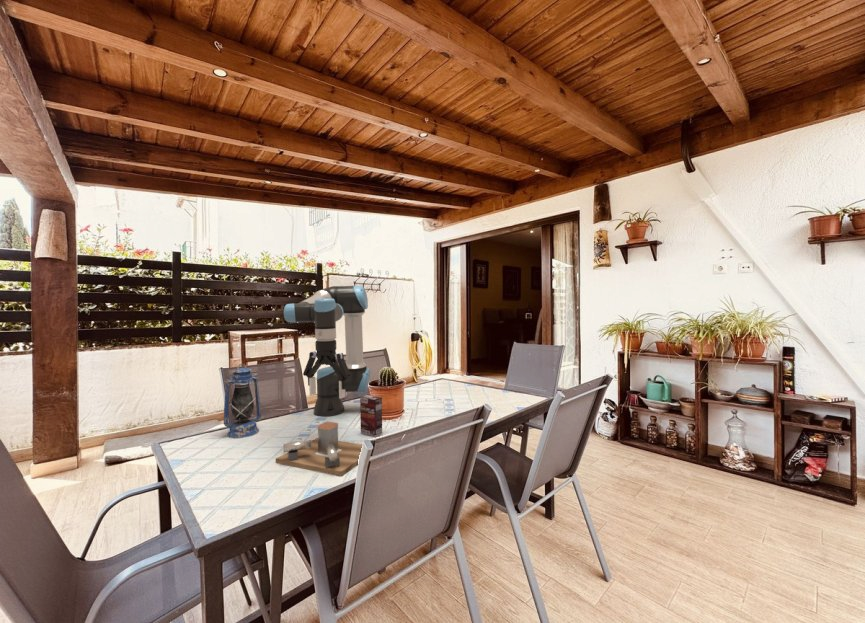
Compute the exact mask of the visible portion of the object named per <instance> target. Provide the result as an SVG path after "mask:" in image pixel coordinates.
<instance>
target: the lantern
mask: <svg viewBox="0 0 865 623" xmlns="http://www.w3.org/2000/svg"><path fill="white" fill-rule="evenodd" d="M241 366H244V368H240V367H241ZM251 371H252V368H248V367H247V366H246V364H244V363H241V364H238V365H237V368H235V369H233V370H231V373H232V375H231V378H230V379H229V378H226V379H225V380H224V383H225V389H224V390H225V391H224V406H223V407H224V408H223V425H224V426H225V427H226V428H229V430H228V432H227V437H228V438H229V439H230V438H231V439H243V438H249V437H253V436H254V435H257V434H258V433H259V432H260V429H259V428H258V425H257V421H258V420H259V419H261V416H262V410H261V400H260V389H259V381H258V378H259V375H258V374H256V373H255V374H254V375H252V373H251ZM250 384H254V392H255V394H254V395H255V397H253V394H252V390H251V387H250ZM230 386H234V389H233V393H232V397H231V399H230ZM254 401H255V404H254ZM229 405H230V406H231V414H232V416H234V419H233V420H235V422H231V423H230V422H229V408H230V407H229ZM255 405H256V416H255V417H253V418H252V414H253V412H254V409H255Z"/></svg>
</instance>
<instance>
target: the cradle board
mask: <svg viewBox="0 0 865 623" xmlns="http://www.w3.org/2000/svg"><path fill="white" fill-rule="evenodd" d="M362 445H363V444H359V443H354V442H349V441H341V440H338V450H337V451H336V453H337V455H338V456H339V458H340V466H339V467H333V468H327V469H326V467H325V457H328V455H326V454H320V453H318V437H316V438H314V439H312V440H311V448H310V449H303V450H298V460H293V461H289V459H288V452H285V453H283V454H281V455H280V456H278V457H276V458H275V463H276V464H280V465H285V466H290V467H295V468H300V469H304V470H309V471H314V472H319V473H324V474H330V475H335V476H339V477H343V476H344V475H345V474H347V473H348V472H350V471H351V470H353V469H354V468H355V467H357V466H359V464H358V459H359V455H360V452H361V448H362Z"/></svg>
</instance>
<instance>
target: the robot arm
mask: <svg viewBox="0 0 865 623" xmlns="http://www.w3.org/2000/svg"><path fill="white" fill-rule="evenodd" d="M368 303H369V300H368V294H367V292H366V289H365V287H364V286H361V285H339V286H338V285H333V286H328V287H326V288H322V289H319V290H318V291H317V290H316V292H315V293H313V294H312V296H310V297H308V298H305V299H303V300H302V301H300V302H299V303H286V304H285V305H284V308H283V318H284V320H285V321H286V322H287V323H294V324H296V323H314V334H315V335H314V337H315V340H316V341H315V343H314V346H315V351H310V352H309V354H308V355H309V356H308V360H307V363H306V366H305V367H304V370H303V374H302V375H303V376H304V377H306V378H307V386H308V387H309V388H308V389H309V396H314V395H315V394H316V399H315V400H316V401H315V404H314V408H313V415H314V416H317V417H331V416H337V415H340V414H342V413H344V412H345V405H344V402H343V400H342V399H344V398H346V392H348V393H349V392H351V393H352V392H357V393H358V392H365V391H366V390H368V387H369V383H370V378H371V377H370V375H371V369H370V368H368V367H367V363H365V362H364V344H363V343H364V342H363V340H364V338H363V336H364V335H363V316H364V314H365V313H366V312H365V311H366V309H368V307H369V304H368ZM343 316H344V336H345V356H344V353H343V352H340V353H337V352H336V350H337V340H336V338H337V328H336V327H337V324H336V323H337V322H338V321H339V320H341V319H342V318H343ZM345 360H346V361H345ZM323 365H325V367H322V368H320V367H321V366H323ZM315 375H316V376H315Z"/></svg>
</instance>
